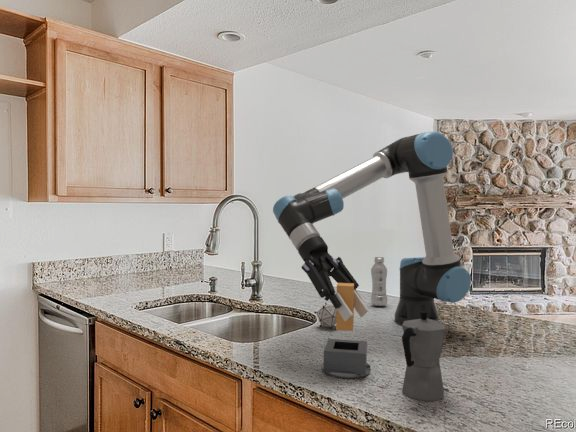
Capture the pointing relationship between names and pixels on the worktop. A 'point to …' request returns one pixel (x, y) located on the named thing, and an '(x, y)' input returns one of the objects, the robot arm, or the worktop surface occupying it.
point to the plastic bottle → (379, 283)
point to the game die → (327, 315)
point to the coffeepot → (423, 358)
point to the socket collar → (346, 359)
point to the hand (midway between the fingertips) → (356, 315)
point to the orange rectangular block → (348, 296)
